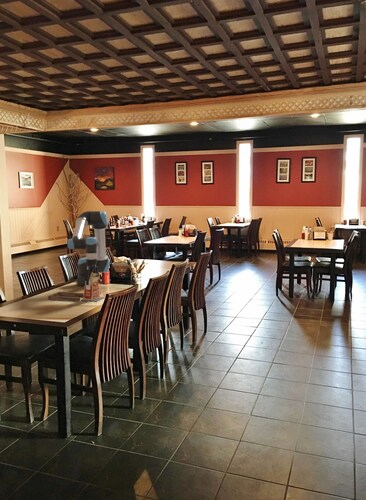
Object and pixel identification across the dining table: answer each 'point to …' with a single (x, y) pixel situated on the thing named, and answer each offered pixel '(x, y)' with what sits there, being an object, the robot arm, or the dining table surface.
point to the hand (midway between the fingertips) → (92, 287)
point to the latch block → (100, 290)
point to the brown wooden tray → (57, 297)
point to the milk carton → (92, 288)
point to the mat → (93, 300)
